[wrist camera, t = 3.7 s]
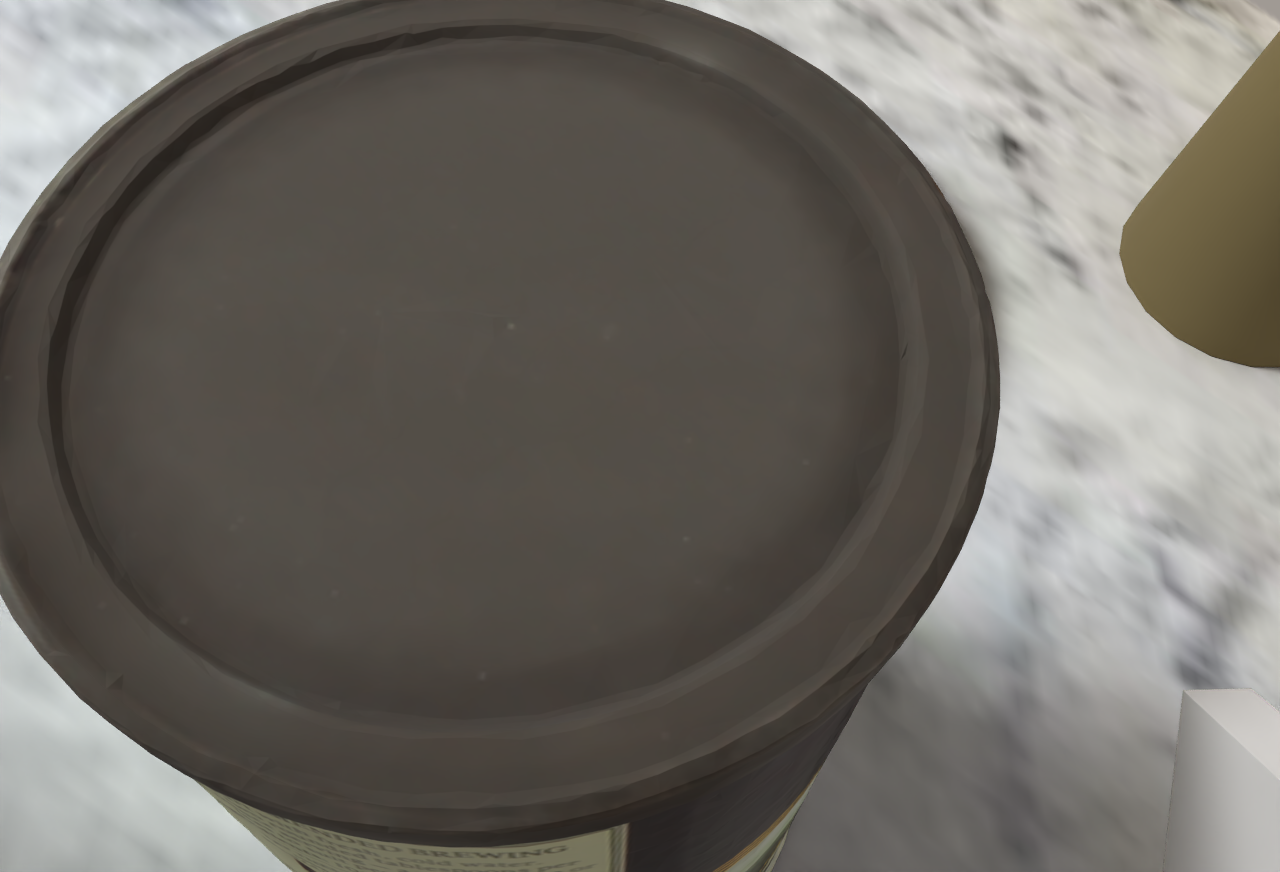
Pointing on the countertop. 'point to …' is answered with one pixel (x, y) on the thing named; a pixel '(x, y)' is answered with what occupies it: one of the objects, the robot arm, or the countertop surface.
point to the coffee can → (490, 430)
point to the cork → (1218, 228)
